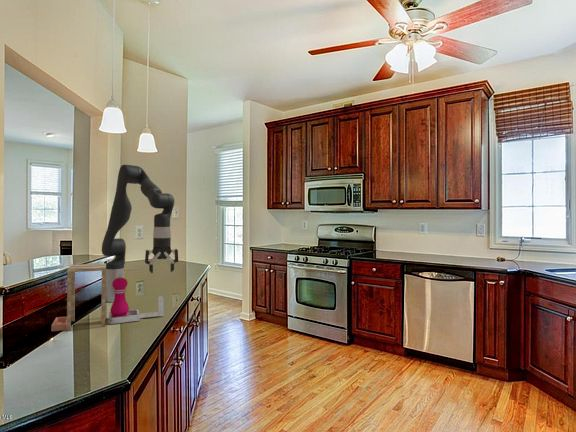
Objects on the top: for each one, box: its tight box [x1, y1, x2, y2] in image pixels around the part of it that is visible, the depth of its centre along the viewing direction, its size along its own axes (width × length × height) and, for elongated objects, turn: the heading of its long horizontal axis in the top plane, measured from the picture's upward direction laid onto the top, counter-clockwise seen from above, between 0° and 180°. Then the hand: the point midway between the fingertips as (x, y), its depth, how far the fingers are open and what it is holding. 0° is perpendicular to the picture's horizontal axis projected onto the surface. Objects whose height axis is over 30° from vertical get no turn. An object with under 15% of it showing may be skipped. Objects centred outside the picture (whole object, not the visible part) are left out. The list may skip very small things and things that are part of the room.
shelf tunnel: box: [66, 262, 107, 332], centre depth 150 cm, size 15×13×24 cm
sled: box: [108, 295, 165, 325], centre depth 159 cm, size 11×22×8 cm, turn 116°
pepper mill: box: [110, 274, 130, 317], centre depth 156 cm, size 7×7×20 cm
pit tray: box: [50, 316, 67, 332], centre depth 146 cm, size 12×5×2 cm, turn 26°
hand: (161, 272), depth 163 cm, fingers open, 8 cm apart
